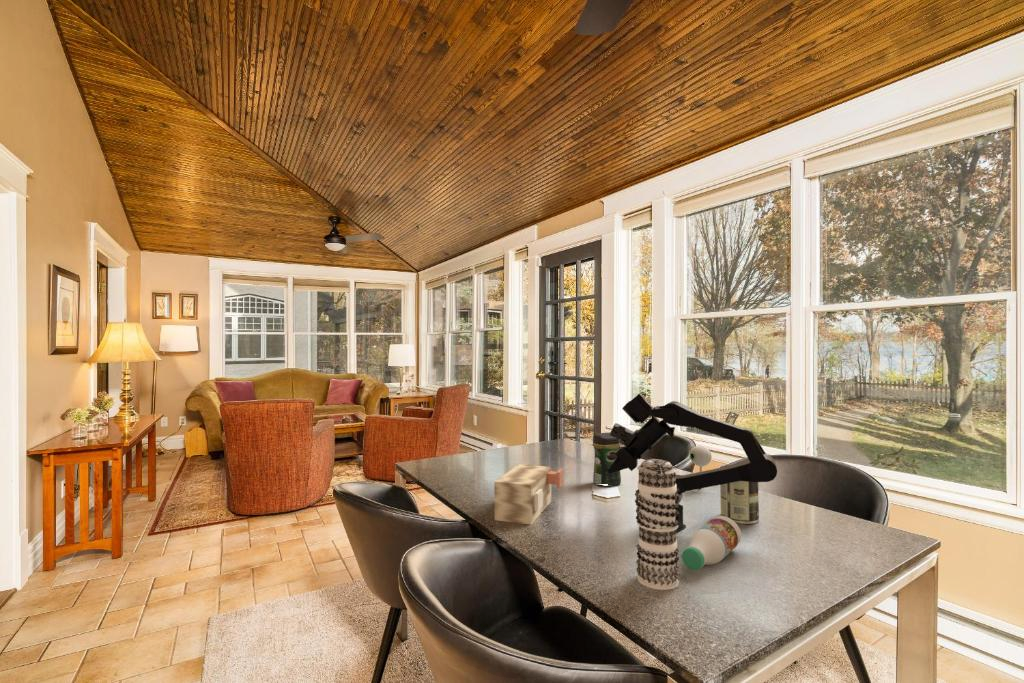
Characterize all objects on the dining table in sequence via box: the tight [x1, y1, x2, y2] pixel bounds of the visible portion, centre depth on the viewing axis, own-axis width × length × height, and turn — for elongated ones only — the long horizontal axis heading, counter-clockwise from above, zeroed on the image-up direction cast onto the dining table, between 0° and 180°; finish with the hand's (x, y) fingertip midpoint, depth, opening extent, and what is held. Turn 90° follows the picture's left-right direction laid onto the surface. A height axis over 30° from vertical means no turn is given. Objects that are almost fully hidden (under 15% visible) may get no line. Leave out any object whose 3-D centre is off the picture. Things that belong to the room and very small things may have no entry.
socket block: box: [493, 463, 552, 526], centre depth 145 cm, size 11×22×11 cm, turn 161°
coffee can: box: [719, 464, 760, 525], centre depth 138 cm, size 10×10×14 cm
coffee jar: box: [592, 431, 622, 486], centre depth 173 cm, size 10×8×19 cm
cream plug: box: [533, 489, 543, 511], centre depth 137 cm, size 12×5×5 cm, turn 71°
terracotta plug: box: [547, 468, 564, 489], centre depth 151 cm, size 12×5×5 cm, turn 71°
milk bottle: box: [681, 515, 742, 571], centre depth 110 cm, size 8×8×20 cm
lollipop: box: [689, 445, 713, 472], centre depth 167 cm, size 7×7×15 cm
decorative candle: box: [634, 458, 680, 591], centre depth 101 cm, size 9×9×25 cm
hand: (608, 472), depth 137 cm, fingers closed
